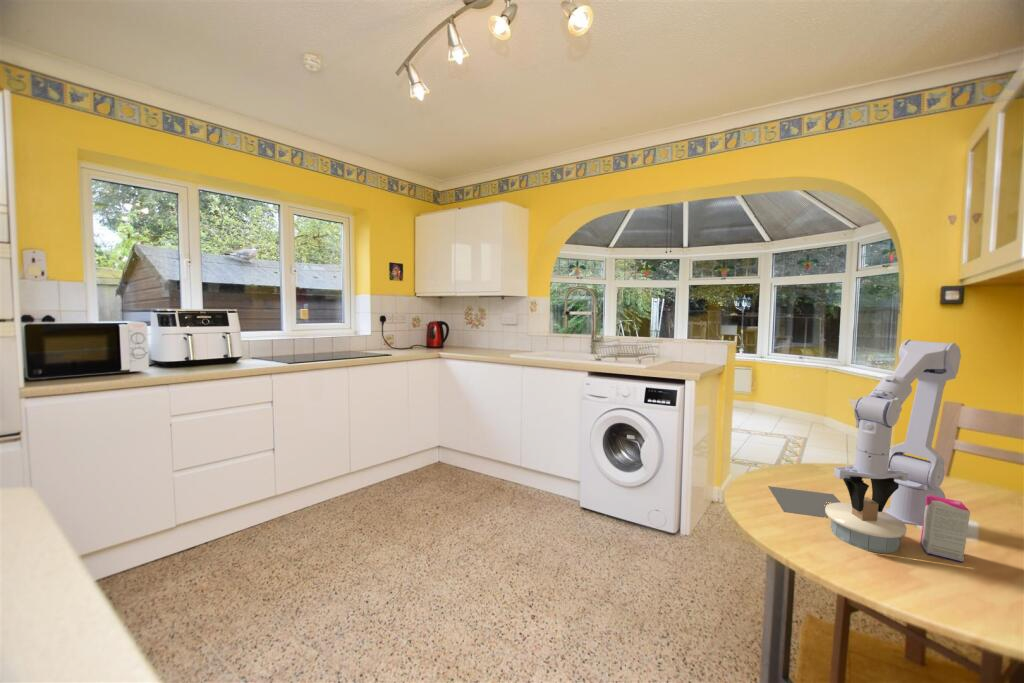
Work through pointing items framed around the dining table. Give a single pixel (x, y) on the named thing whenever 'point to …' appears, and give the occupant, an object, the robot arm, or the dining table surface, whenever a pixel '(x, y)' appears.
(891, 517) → the lid
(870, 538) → the bowl
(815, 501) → the mat
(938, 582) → the dining table surface
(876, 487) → the robot arm
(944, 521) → the supplement box
